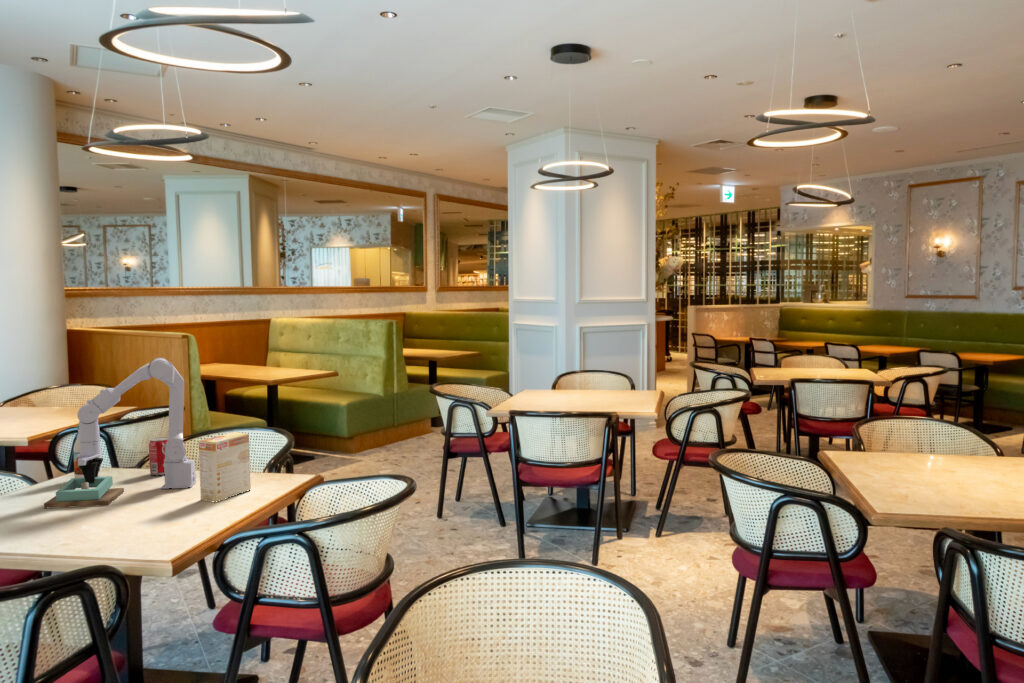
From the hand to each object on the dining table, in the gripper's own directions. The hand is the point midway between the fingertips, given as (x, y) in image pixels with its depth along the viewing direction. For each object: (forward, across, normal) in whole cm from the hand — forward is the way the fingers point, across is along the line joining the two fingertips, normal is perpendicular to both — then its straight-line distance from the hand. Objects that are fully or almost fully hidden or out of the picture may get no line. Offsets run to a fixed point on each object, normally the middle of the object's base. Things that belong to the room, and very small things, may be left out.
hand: (91, 482), depth 229 cm
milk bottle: (+5, -21, -9) cm, 23 cm away
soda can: (+5, -25, +14) cm, 29 cm away
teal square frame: (+2, +5, 0) cm, 5 cm away
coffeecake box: (+5, +8, +43) cm, 44 cm away
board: (+4, +5, 0) cm, 7 cm away
